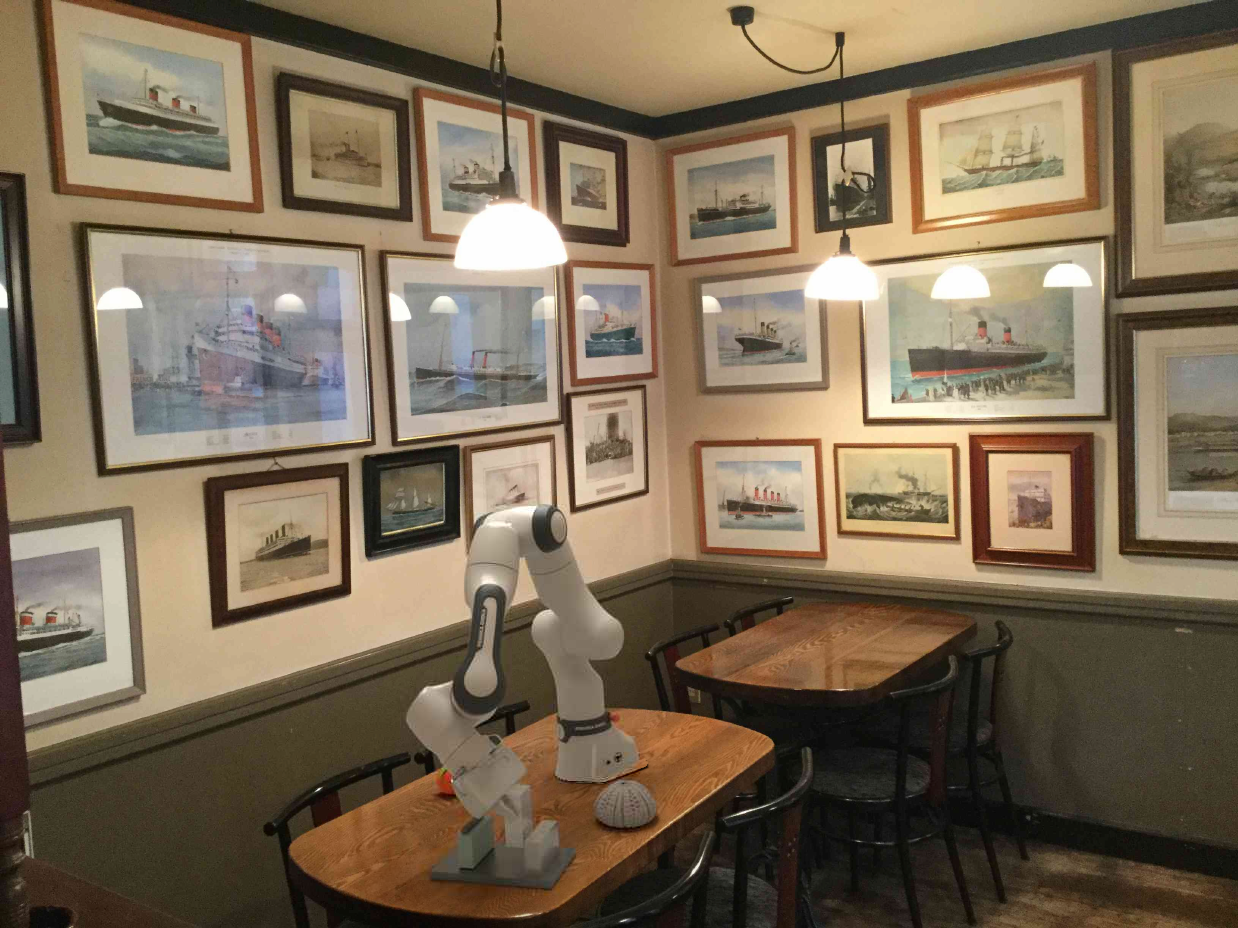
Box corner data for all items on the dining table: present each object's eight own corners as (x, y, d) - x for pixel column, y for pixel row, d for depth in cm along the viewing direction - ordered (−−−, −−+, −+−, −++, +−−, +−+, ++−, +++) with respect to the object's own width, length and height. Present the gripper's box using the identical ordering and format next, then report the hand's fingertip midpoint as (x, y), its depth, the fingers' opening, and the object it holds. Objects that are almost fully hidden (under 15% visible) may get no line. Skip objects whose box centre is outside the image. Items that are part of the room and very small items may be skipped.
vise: (430, 878, 188) (427, 839, 188) (462, 846, 201) (459, 810, 201) (550, 889, 181) (548, 848, 181) (575, 855, 195) (573, 817, 194)
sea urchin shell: (617, 802, 220) (615, 767, 219) (670, 813, 212) (668, 776, 212) (582, 825, 209) (579, 787, 208) (636, 838, 201) (634, 799, 201)
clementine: (451, 802, 225) (449, 771, 225) (428, 797, 229) (426, 767, 228) (474, 790, 232) (472, 760, 231) (452, 785, 235) (450, 756, 235)
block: (506, 846, 188) (503, 794, 187) (516, 835, 193) (513, 784, 192) (523, 847, 187) (520, 795, 187) (533, 836, 192) (530, 785, 191)
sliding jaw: (458, 867, 188) (456, 829, 188) (480, 844, 198) (478, 808, 198) (473, 868, 188) (471, 830, 187) (494, 845, 197) (492, 809, 197)
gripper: (457, 767, 181) (510, 824, 179) (501, 731, 201) (550, 782, 198) (436, 790, 182) (489, 846, 180) (482, 752, 202) (530, 803, 200)
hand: (521, 812), depth 189 cm, fingers closed on block, 5 cm apart
